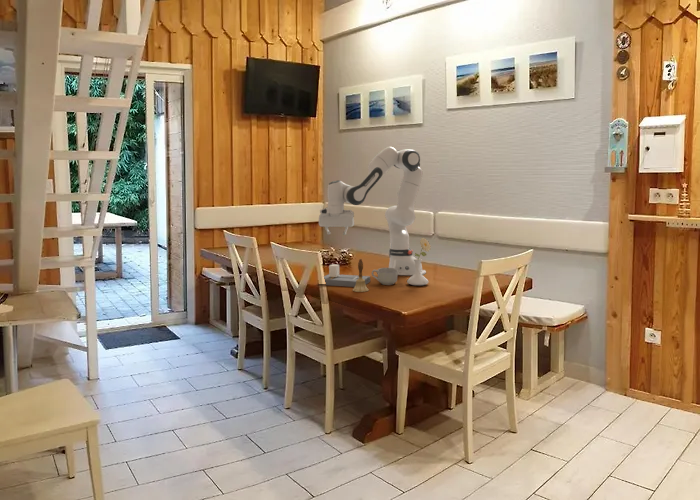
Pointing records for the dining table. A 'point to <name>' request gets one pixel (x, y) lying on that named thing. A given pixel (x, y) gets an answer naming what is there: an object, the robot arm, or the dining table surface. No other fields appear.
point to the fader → (333, 270)
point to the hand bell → (360, 280)
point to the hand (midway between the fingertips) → (336, 234)
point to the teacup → (386, 275)
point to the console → (344, 280)
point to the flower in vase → (418, 277)
